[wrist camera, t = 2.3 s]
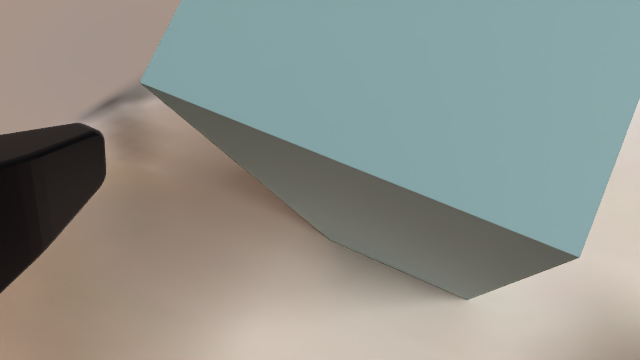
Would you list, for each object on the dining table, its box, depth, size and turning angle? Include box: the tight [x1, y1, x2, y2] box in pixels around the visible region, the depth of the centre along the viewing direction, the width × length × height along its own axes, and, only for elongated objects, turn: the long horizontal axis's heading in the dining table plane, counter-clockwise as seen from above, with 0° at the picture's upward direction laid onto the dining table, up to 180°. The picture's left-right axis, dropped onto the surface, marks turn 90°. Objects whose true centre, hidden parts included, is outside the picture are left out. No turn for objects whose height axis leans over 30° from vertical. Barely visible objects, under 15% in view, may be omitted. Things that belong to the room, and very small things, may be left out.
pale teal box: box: [140, 0, 640, 300], centre depth 12 cm, size 3×4×13 cm, turn 66°
